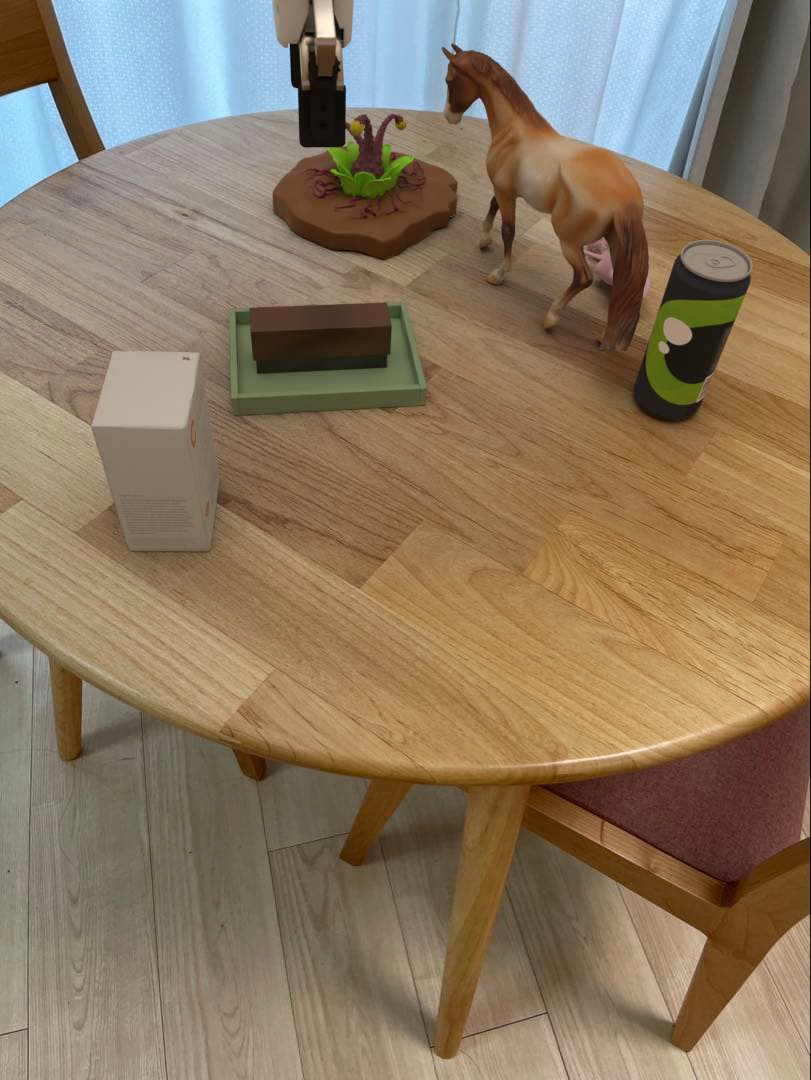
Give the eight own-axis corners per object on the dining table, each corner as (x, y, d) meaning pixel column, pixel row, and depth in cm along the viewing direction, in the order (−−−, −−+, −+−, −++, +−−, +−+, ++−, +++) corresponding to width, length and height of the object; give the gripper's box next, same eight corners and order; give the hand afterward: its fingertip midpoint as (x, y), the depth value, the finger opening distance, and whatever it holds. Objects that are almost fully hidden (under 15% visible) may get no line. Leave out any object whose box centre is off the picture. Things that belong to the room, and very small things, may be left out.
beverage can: (678, 376, 84) (730, 234, 73) (710, 418, 81) (771, 275, 69) (619, 385, 83) (664, 242, 71) (650, 429, 79) (701, 285, 68)
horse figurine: (422, 239, 98) (437, 40, 82) (479, 223, 101) (504, 27, 85) (602, 402, 81) (664, 191, 66) (664, 377, 84) (737, 169, 68)
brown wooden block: (254, 375, 80) (250, 331, 77) (253, 350, 83) (249, 307, 79) (389, 368, 82) (392, 325, 78) (384, 344, 84) (386, 302, 81)
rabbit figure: (567, 254, 100) (603, 314, 88) (576, 201, 96) (614, 256, 85) (620, 254, 100) (663, 313, 89) (631, 201, 97) (677, 256, 85)
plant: (243, 219, 98) (234, 117, 90) (335, 151, 110) (335, 56, 101) (398, 275, 93) (404, 173, 84) (478, 197, 104) (491, 101, 96)
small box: (142, 477, 72) (110, 348, 62) (221, 478, 72) (201, 349, 62) (126, 553, 67) (88, 425, 57) (210, 554, 67) (187, 427, 57)
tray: (233, 415, 77) (231, 398, 76) (230, 325, 86) (228, 308, 84) (425, 405, 80) (427, 388, 78) (404, 318, 88) (405, 301, 86)
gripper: (244, -213, 57) (261, 66, 70) (253, -145, 46) (271, 172, 59) (359, -207, 58) (354, 67, 71) (395, -140, 47) (381, 171, 60)
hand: (316, 114), depth 65 cm, fingers open, 9 cm apart
